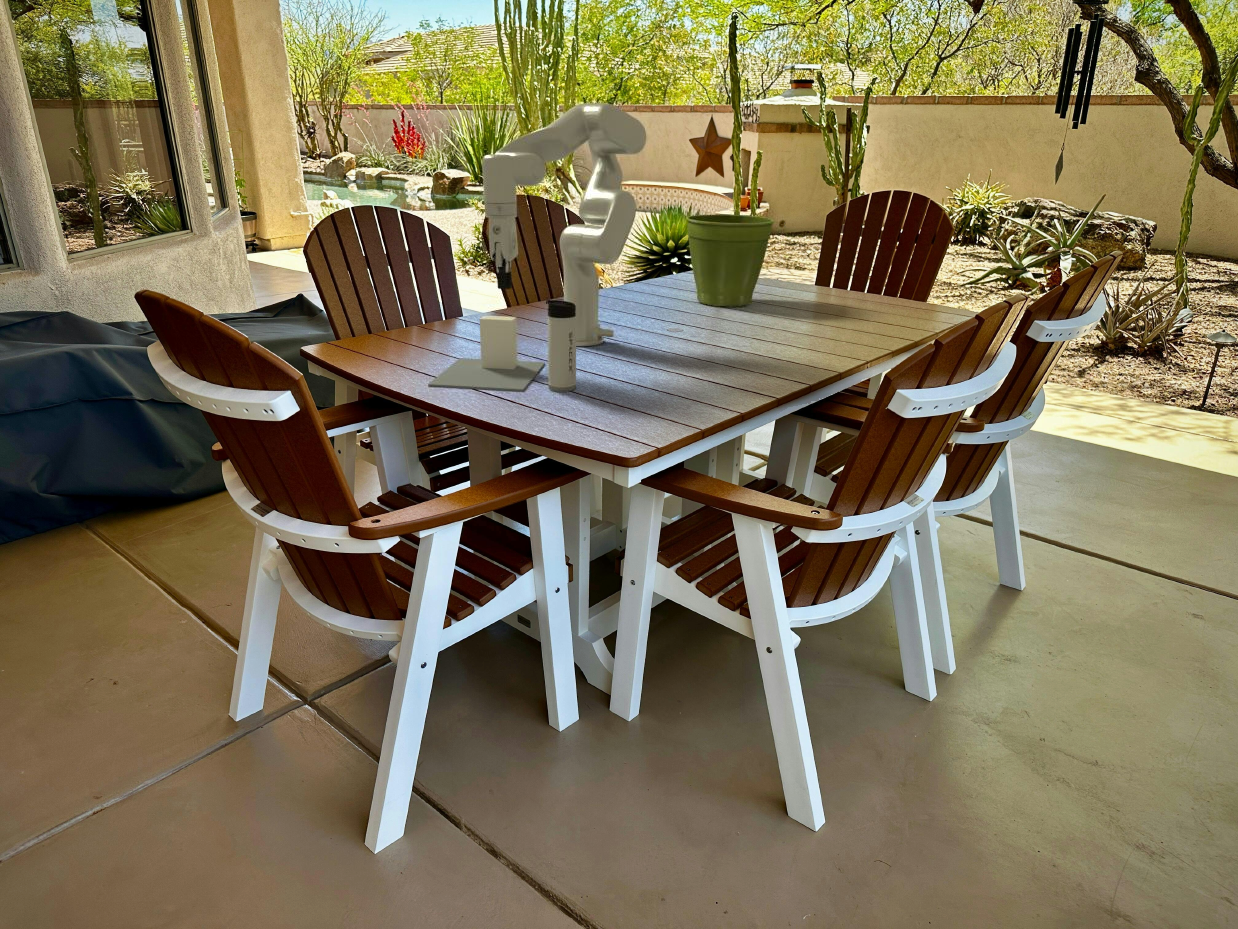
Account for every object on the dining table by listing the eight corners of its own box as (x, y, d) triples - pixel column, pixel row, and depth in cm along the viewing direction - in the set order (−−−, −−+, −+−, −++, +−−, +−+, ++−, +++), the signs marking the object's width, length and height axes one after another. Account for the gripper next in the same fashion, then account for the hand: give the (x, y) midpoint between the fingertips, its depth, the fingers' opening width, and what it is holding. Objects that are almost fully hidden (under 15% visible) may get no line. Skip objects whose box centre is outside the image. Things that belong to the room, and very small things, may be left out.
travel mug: (547, 384, 187) (545, 297, 180) (575, 384, 188) (575, 297, 180) (547, 392, 181) (545, 303, 174) (576, 392, 182) (576, 303, 175)
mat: (544, 364, 204) (544, 362, 204) (523, 391, 182) (523, 389, 182) (459, 359, 206) (459, 357, 206) (428, 386, 184) (428, 384, 184)
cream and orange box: (517, 364, 201) (516, 316, 196) (513, 369, 197) (512, 320, 192) (486, 363, 202) (484, 315, 197) (481, 367, 198) (479, 318, 193)
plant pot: (684, 293, 301) (688, 213, 291) (765, 297, 298) (772, 216, 287) (679, 308, 274) (683, 220, 263) (768, 313, 270) (775, 223, 260)
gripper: (509, 213, 184) (513, 294, 191) (523, 207, 197) (526, 283, 205) (477, 213, 185) (482, 294, 192) (493, 206, 198) (497, 282, 205)
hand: (504, 288), depth 198 cm, fingers closed
